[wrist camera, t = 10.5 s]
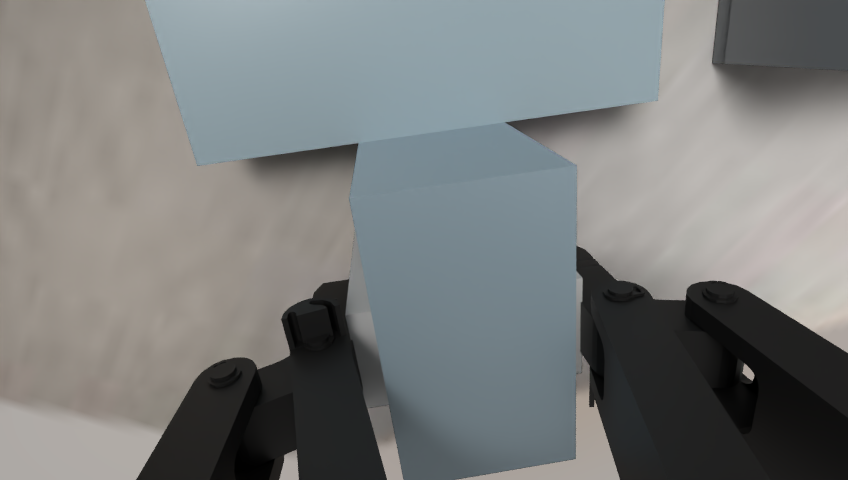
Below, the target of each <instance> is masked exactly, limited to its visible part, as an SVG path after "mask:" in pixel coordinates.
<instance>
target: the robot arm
mask: <svg viewBox="0 0 848 480" xmlns="http://www.w3.org/2000/svg"><path fill="white" fill-rule="evenodd" d="M281 320H282V324H283V327H284V331H285V334H286V338H287V341H288V345H289V349H290V356H288V357H287V358H285V359H283V360H281V361H279V362H277V363H274V364H272V365H269V366H266V367H264V368H261V369H258V370H257V367H256V365H255V363H254V362H253V361H252V360H250V359H247V358H231V359H227V360H223V361H220V362H219V363H216V364H214V365H212V366H210V367H209V368H208V369H206V370H205V371H203V372H202V373H201V374H200V375H199V376H198V377H197V379H196V380H195V381H194V383H193V384H192V386H191V388H190V390H189V391H188V393H187V395H186V396H185V398H184V400H183V401H182V403H181V405H180V407H179V408H178V410H177V412H176V413H175V415H174V417H173V418H172V420H171V422H170V423H169V425H168V427H167V429H166V430H165V432H164V434H163V435H162V437H161V439H160V440H159V442H158V444H157V446H156V447H155V449H154V451H153V452H152V454H151V456H150V457H149V459H148V461H147V462H146V464H145V466H144V468H143V469H142V471H141V473H140V474H139V476H138V478H137V479H136V480H279V478H280V474H281V470H282V466H283V463H284V455H285V454H287V453H289V452H292V451H294V450H296V449H297V458H298V471H299V480H387V478H386V474H385V471H384V467H383V464H382V460H381V456H380V453H379V449H378V446H377V442H376V438H375V435H374V431H373V428H372V424H371V421H370V417H369V413H368V410H367V408H372V407H378V406H384V405H389V402H388V397H387V392H386V387H385V381H384V376H383V371H382V366H381V361H380V356H379V350H378V345H377V340H376V335H375V330H374V325H373V319H372V314H371V309H370V304H369V299H368V294H367V289H366V283H365V278H364V273H363V268H362V263H361V258H360V252H359V247H358V242H357V237H356V232H354V241H353V250H352V259H351V268H350V277H349V279H348V280H342V281H335V282H329V283H323V284H322V285H321V286H320V287H319V288H318V289H317V290H316V291H315V292H314V295H313V298H311V299H307V300H304V301H301V302H298V303H297V304H295V305H293V306H291V307H290V308H289V309H288V310H287V311H286V312H285V313H284V314H283V316H282V319H281ZM582 355H583V356H584V358H585V359H586V361H587V362H588V364H589V365H590V392H589V405H590V407H594V400H595V401H596V404H597V407H598V410H599V414H600V417H601V420H602V423H603V426H604V429H605V433H606V436H607V439H608V442H609V445H610V448H611V452H612V455H613V458H614V461H615V465H616V467H617V471H618V474H619V477H620V480H848V353H847V352H845V351H843V350H842V349H840V348H839V347H837V346H835V345H834V344H832V343H830V342H829V341H827V340H826V339H824V338H823V337H821V336H819V335H818V334H816V333H815V332H813V331H811V330H810V329H808V328H807V327H805V326H803V325H802V324H800V323H799V322H797V321H795V320H794V319H792V318H790V317H789V316H787V315H786V314H784V313H782V312H781V311H779V310H778V309H776V308H774V307H773V306H771V305H770V304H768V303H766V302H765V301H763V300H762V299H760V298H758V297H757V296H755V295H754V294H752V293H750V292H749V291H747V290H745V289H743V288H741V287H739V286H736V285H732V284H729V283H726V282H722V281H718V282H717V281H707V282H699V283H695V284H692V285H691V286H690V287H689V288H688V289H687V293H686V301H684V300H656V299H653V298H652V296H651V295H650V293H649V292H648V291H647V290H646V289H645V288H644V287H642V286H639V285H637V284H635V283H630V282H626V281H616V280H615V279H614V278H613V277H612V276H611V275H610V274H609V273H608V272H607V271H606V270H605V269H604V268H603V267H602V266H601V265H599V263H598V262H597V261H596V260H595V259H593V257H592V256H591V255H590V254H589V253H588V252H587V251H586V250H585V249H582V248H580V247H578V246H576V374H578V373H582ZM744 363H745V364H746V365H747V366H748V367H749V368H750V369H751V370H752V371H753V373H754V375H755V376H754V379H753V381H751V380H750V379H748V378H747V377H746V376H745V375H744V374H743V373H742V372H743V366H744Z"/></svg>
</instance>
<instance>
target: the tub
mask: <svg viewBox="0 0 848 480" xmlns="http://www.w3.org/2000/svg"><path fill="white" fill-rule="evenodd" d="M713 63H720V64H738V65H756V66H774V67H791V68H809V69H827V70H845V71H848V0H719V8H718V17H717V27H716V36H715V45H714V54H713Z"/></svg>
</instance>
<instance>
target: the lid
mask: <svg viewBox="0 0 848 480" xmlns="http://www.w3.org/2000/svg"><path fill="white" fill-rule="evenodd" d="M145 2H146V5H147V8H148V11H149V14H150V18H151V21H152V24H153V27H154V30H155V33H156V37H157V40H158V43H159V46H160V49H161V52H162V56H163V59H164V62H165V65H166V68H167V71H168V75H169V78H170V81H171V84H172V87H173V90H174V93H175V97H176V100H177V103H178V106H179V109H180V112H181V116H182V119H183V122H184V125H185V128H186V131H187V135H188V138H189V141H190V144H191V147H192V150H193V153H194V157H195V160H196V163H197V166H200V165H207V164H214V163H221V162H228V161H236V160H243V159H250V158H257V157H264V156H271V155H278V154H285V153H292V152H299V151H306V150H313V149H320V148H327V147H334V146H341V145H348V144H355V143H359V144H358V150H357V155H356V161H355V167H354V173H353V179H352V185H351V190H350V196H349V201H350V206H351V211H352V216H353V221H354V227H355V232H356V237H357V242H358V247H359V252H360V258H361V263H362V268H363V273H364V278H365V283H366V289H367V294H368V299H369V304H370V309H371V314H372V319H373V325H374V330H375V335H376V340H377V345H378V350H379V356H380V361H381V366H382V371H383V376H384V381H385V387H386V392H387V397H388V402H389V407H390V412H391V417H392V423H393V428H394V433H395V438H396V443H397V448H398V454H399V458H400V464H401V469H402V474H403V479H404V480H456V479H462V478H467V477H473V476H479V475H485V474H491V473H497V472H502V471H509V470H514V469H520V468H526V467H532V466H537V465H543V464H549V463H555V462H561V461H567V460H573V459H576V202H577V165H575V164H573V163H572V162H570V161H568V160H567V159H565V158H563V157H562V156H560V155H558V154H557V153H555V152H553V151H552V150H550V149H548V148H547V147H545V146H543V145H542V144H540V143H538V142H537V141H535V140H533V139H532V138H530V137H528V136H527V135H525V134H523V133H522V132H520V131H518V130H517V129H515V128H513V127H512V126H510V125H508V124H507V123H505V122H511V121H518V120H525V119H532V118H539V117H546V116H553V115H560V114H567V113H574V112H581V111H588V110H595V109H602V108H609V107H616V106H623V105H630V104H637V103H645V102H652V101H658V90H659V75H660V61H661V46H662V31H663V17H664V2H665V0H145Z"/></svg>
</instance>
